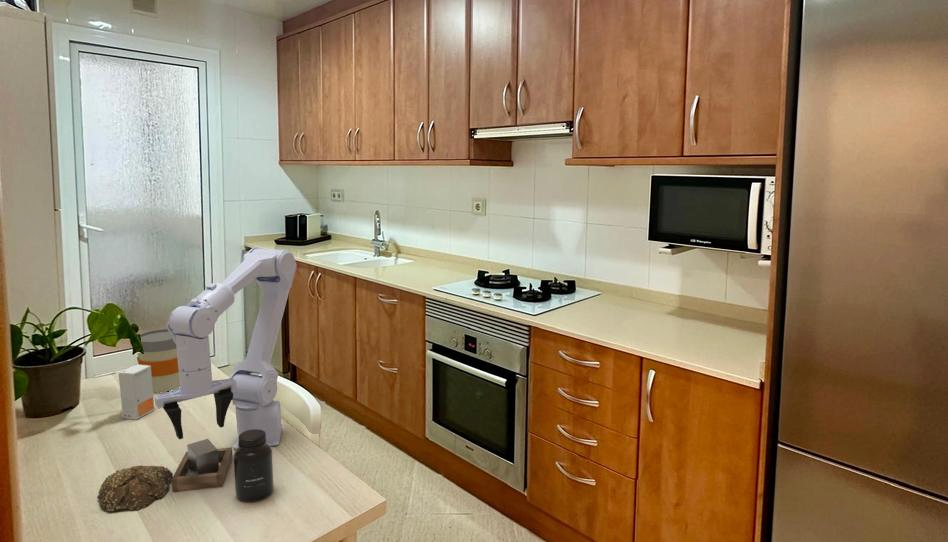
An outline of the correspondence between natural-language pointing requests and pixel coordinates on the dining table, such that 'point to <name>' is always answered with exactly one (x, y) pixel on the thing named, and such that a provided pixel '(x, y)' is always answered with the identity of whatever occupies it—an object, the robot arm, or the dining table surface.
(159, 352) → the reusable coffee cup
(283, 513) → the dining table surface
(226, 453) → the wooden frame
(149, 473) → the bread roll
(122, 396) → the skincare box
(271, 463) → the supplement bottle
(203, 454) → the steel bracket block
